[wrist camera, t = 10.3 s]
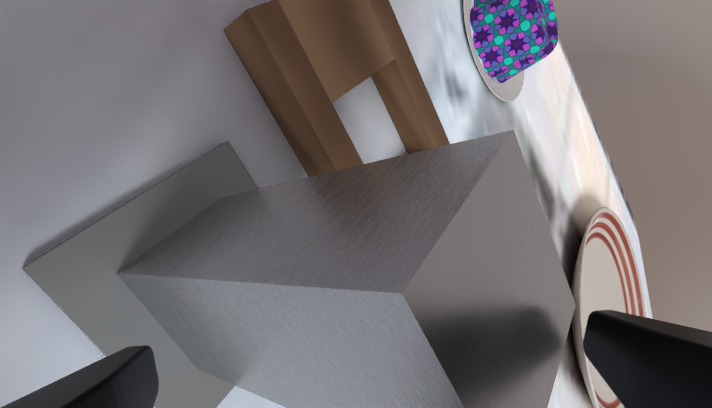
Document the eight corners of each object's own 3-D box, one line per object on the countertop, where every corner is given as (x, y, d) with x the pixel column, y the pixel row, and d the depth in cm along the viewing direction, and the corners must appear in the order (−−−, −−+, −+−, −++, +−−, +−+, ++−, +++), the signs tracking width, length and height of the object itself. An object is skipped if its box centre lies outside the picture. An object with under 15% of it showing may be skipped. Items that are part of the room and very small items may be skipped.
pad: (183, 436, 15) (187, 439, 14) (21, 268, 12) (23, 267, 12) (315, 286, 20) (321, 286, 19) (223, 142, 17) (227, 141, 17)
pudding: (525, 60, 44) (578, 41, 40) (499, 129, 37) (559, 115, 34) (479, -48, 38) (536, -81, 34) (439, 12, 32) (504, -20, 28)
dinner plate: (533, 331, 38) (571, 336, 36) (582, 168, 54) (610, 164, 52) (605, 481, 48) (639, 492, 46) (628, 306, 65) (653, 308, 63)
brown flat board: (381, 301, 23) (410, 304, 22) (223, 29, 18) (247, 9, 16) (449, 205, 29) (474, 202, 28) (348, -19, 24) (373, -36, 22)
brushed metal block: (196, 368, 15) (519, 507, 6) (116, 273, 13) (401, 292, 5) (279, 284, 18) (575, 305, 9) (221, 197, 16) (513, 129, 8)
